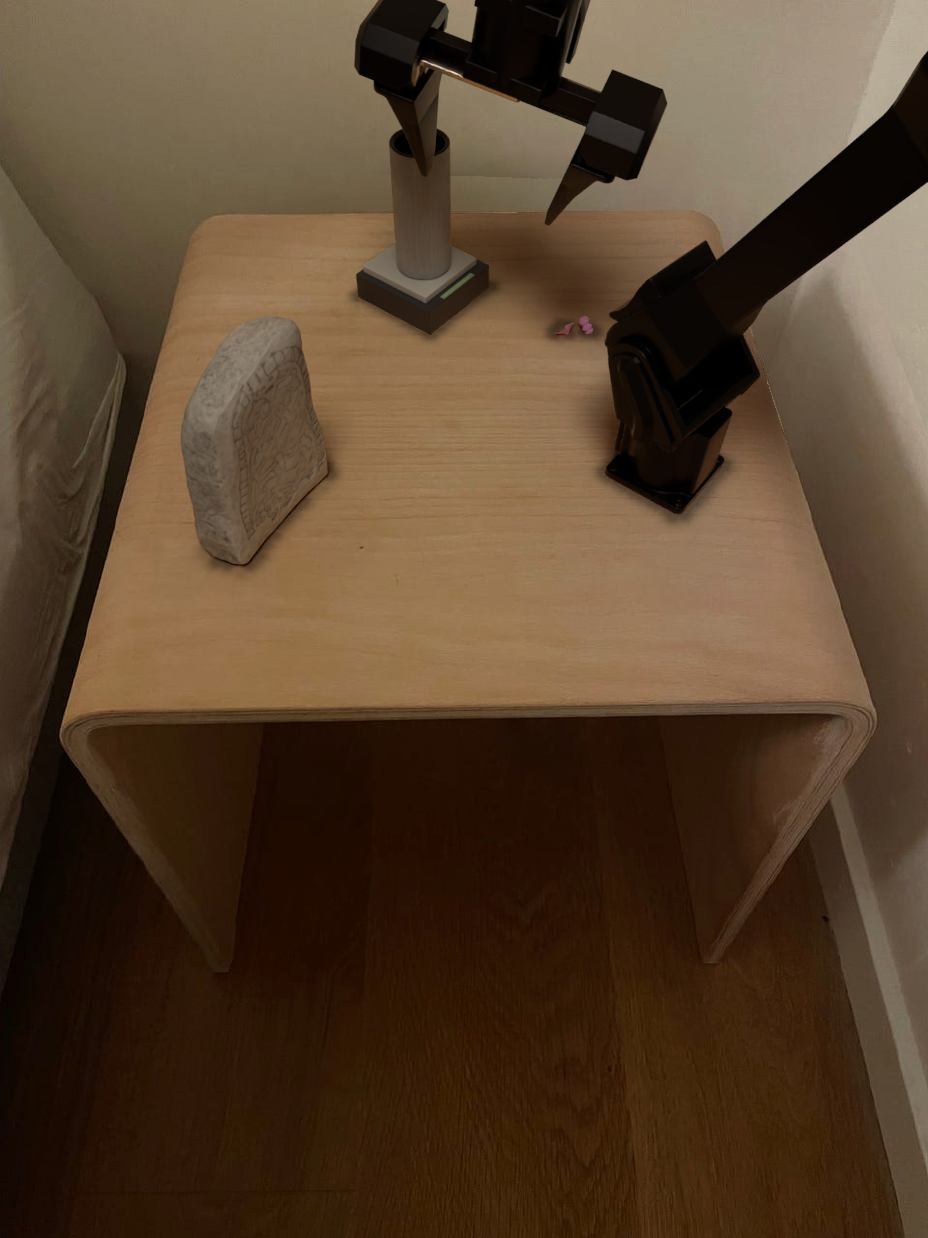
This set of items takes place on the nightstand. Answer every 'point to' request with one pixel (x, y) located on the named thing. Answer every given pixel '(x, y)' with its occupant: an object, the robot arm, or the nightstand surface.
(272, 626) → the nightstand surface
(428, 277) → the planter
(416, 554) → the nightstand surface
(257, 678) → the nightstand surface
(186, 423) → the decorative stone
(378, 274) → the scale
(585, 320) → the pink seashells
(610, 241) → the nightstand surface
